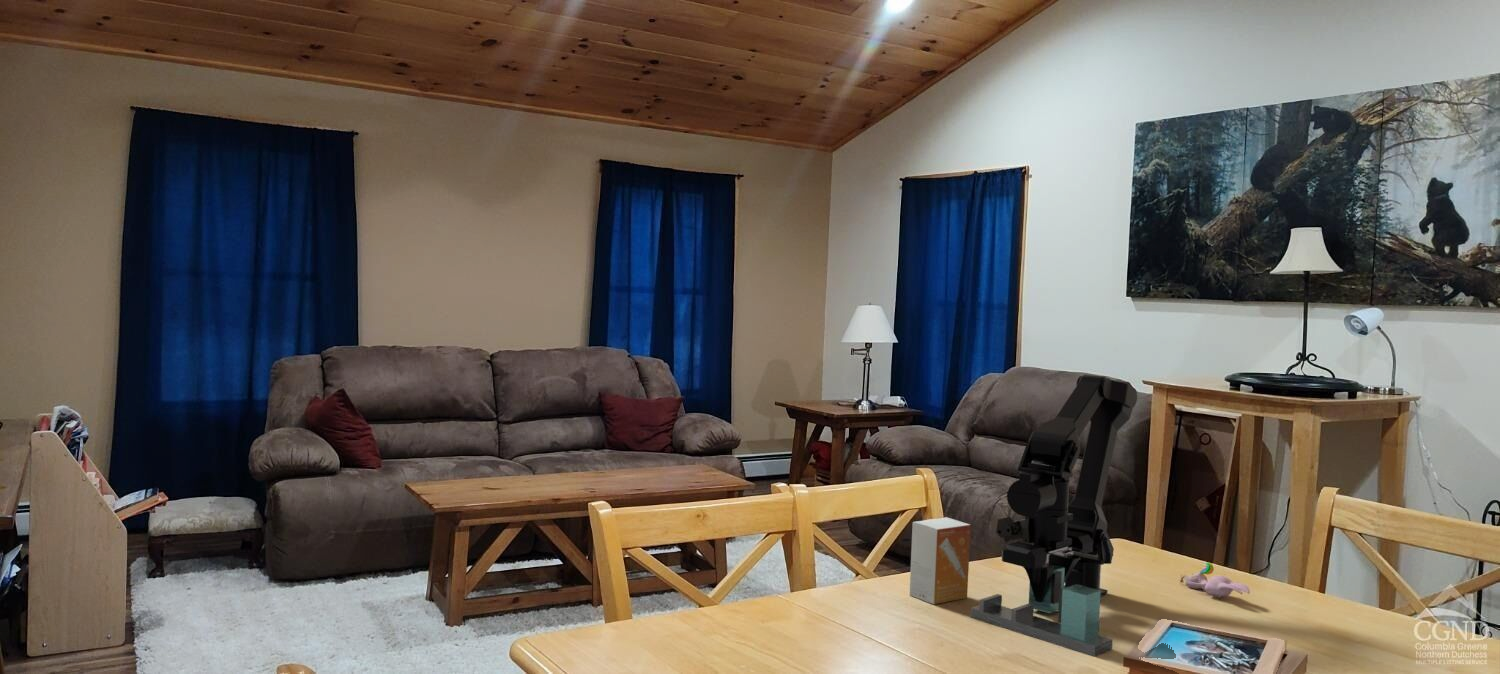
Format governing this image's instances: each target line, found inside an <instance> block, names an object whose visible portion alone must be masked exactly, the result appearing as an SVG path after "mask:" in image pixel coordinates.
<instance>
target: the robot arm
mask: <svg viewBox="0 0 1500 674" xmlns="http://www.w3.org/2000/svg"><path fill="white" fill-rule="evenodd" d="M1137 400H1138V391H1137V390H1136V388H1134V387H1133V386H1132V384H1131V382H1129V381H1123V380H1113V379H1111V378H1109V377H1106V376H1103V375H1092V374H1083V375H1079V377H1078V378H1077V381H1076V386H1075V388H1074V389H1073V390H1072V392H1071V393H1070V394H1069V397H1068V398H1067V400H1066V401H1064V403H1063V405H1062V406H1061V408H1060V409H1059V411H1058V413H1057V414H1056V415H1055V416H1054V418H1053V419H1050V420H1048V421H1045V422H1043V423H1041V424H1040V425H1039V426H1038V427H1036V429H1035V430H1034V431H1033V432H1032V433H1031V435H1030V436H1029V437H1028V440H1027V442H1026V444H1025V448H1024V450H1023V453H1022V456H1021V459H1020V462H1019V464H1018V467H1017V472H1019V478H1018V480H1015V481H1014V482H1013V483H1011V485H1010V486H1009V487H1008V490H1007V492H1006V500H1007V504H1008V505H1009V507H1010V509H1011V510H1012V511H1013V512H1014V513H1016V514H1017V515H1019V516H1022V517H1024V518H1022V519H1018V520H1014V519H1013V518H1012V517H1011V516H1007V517H1002V518H1001V517H1000V518H998V519H997V522H996V530H995V534H997V536H998V537H999V538H1000V539H1002V541H1003V543H1004V544H1005V543H1008V542H1010V541H1015V540H1020V539H1021V541H1022V542H1021V541H1017V542H1012V543H1008V544H1006V545H1005V546H1004V547H1003V548H1002V549H1001V561H1002V562H1003V563H1007V564H1010V565H1011V564H1012V565H1016V566H1018V567H1022V568H1023V569H1024V570H1025V572H1026V574H1027V575H1026V576H1028V580H1029V585H1030V584H1031V587H1032V591H1033V594H1034V598H1035V601H1037V602H1040V603H1041V602H1042V601H1043V599H1044V596H1045V594H1046V591H1047V588H1048V585H1049V582H1050V579H1051V576H1052V573H1053V570H1054V567H1055V565H1058V566H1062V567H1065V575H1064V588H1066V587H1070V586H1073V585H1076V584H1078V585H1082V586H1085V587H1089V588H1093V589H1097V590H1101V594H1100V597H1101V596H1103V595H1106V594H1108V593H1109V591H1108V590H1107V589H1105V588H1101V573H1102V571H1101V569H1102V566H1103V565H1107V564H1108V565H1110V564H1112V560H1113V557H1114V546H1113V542H1112V541H1111V538H1110V537H1109V535H1108V522H1107V520H1106V519H1107V518H1106V517H1105V513H1104V511H1103V509H1102V508H1103V507H1102V506H1103V500H1104V496H1105V493H1106V491H1105V490H1106V487H1107V482H1108V477H1109V474H1110V473H1109V472H1110V468H1111V463H1112V459H1113V454H1114V450H1115V444H1116V439H1117V435H1118V431H1119V430H1120V429H1121V428H1122V427H1123V426H1124V425H1125V424H1127V422H1128V421H1129V420H1130V418H1131V416H1132V412H1133V409H1134V408H1135V407H1136V404H1137V402H1138V401H1137ZM1089 422H1090V424H1089V429H1088V434H1087V439H1086V443H1085V446H1084V447H1085V448H1084V452H1083V457H1082V461H1081V466H1080V469H1079V475H1078V479H1077V484H1076V487H1075V492H1074V496H1073V499H1072V500H1071V501H1070V502H1069V499H1070V498H1069V495H1070V478H1072V477H1073V476H1074V473H1073V470H1074V467H1075V466H1076V463H1077V461H1078V458H1079V456H1080V454H1081V447H1080V442H1079V438H1080V436H1081V434H1082V433H1083V431H1084V430H1085V428H1086V427H1087V425H1088V423H1089ZM1032 462H1033V463H1032ZM1049 563H1050V564H1049ZM1053 564H1054V565H1053Z"/></svg>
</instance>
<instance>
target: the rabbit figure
mask: <svg viewBox="0 0 1500 674" xmlns="http://www.w3.org/2000/svg"><path fill="white" fill-rule="evenodd" d="M1205 565H1206V566H1205V568H1202V569H1201V570H1200V571H1199V572H1198V573H1191V575H1190V576H1188V575H1185V574H1184V575H1183V576H1182V574H1180V579H1179V583H1184V581H1185V585H1186V587H1187V588H1189V589H1194V590H1201V589H1202V590H1204V591H1205V592H1206V593H1207V594H1209V595H1211V596H1212V597H1213V598H1217V599H1218V598H1219V599H1220V598H1221V597H1227V596H1230V595H1231V594H1232V592H1233V591H1234V592H1237V593H1238V594H1240V595H1243V594H1244V593H1247V594H1248V595H1249V594H1251V591H1250V589H1249V588H1250V587H1249V586H1248V585H1246V584H1244V583H1242V582H1234V581H1232V579H1229V578H1228V577H1226V576H1225V575H1219V574H1217V575H1213V576H1212V577H1211V578H1209V579H1208V578H1207V575H1211V574H1213V572H1214V570H1215V569H1214V568H1215V567H1214V566H1213V564H1212V563H1210V562H1209V561H1208V562H1205ZM1243 592H1244V593H1243Z"/></svg>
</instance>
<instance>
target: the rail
mask: <svg viewBox="0 0 1500 674" xmlns="http://www.w3.org/2000/svg"><path fill="white" fill-rule="evenodd" d="M1100 594H1101V590H1097V589H1093V588H1089V587H1085V586H1082V585H1078V584H1076V585H1073V586H1070V587H1066V588H1063V589H1060V590H1059V607H1058V611H1057V613H1058V614H1057V622H1056V621H1053V620H1050V619H1047V618H1043V617H1040V616H1036V615H1034V610H1035V609H1034V604H1031V603H1029V602H1028V603H1026V604H1023V605H1022V604H1021V605H1020V606H1018V607H1017V606H1016V607H1014V608H1010V607H1007V606H1003V602H1002V601H1003V595H1002V594H999V593H997V594H993V595H991V596H987V597H984V598H980V599H979V604H978V605H976V606H972V607H971V608H970V617H971V618H972V619H975V620H978V621H982V622H985V623H988V624H991V625H994V626H998V627H1001V628H1003V629H1007V630H1010V631H1013V632H1017V633H1019V634H1021V635H1025V636H1029V637H1032V638H1036V639H1039V640H1042V641H1044V642H1047V643H1051V644H1054V645H1058V646H1061V647H1064V648H1067V649H1070V650H1073V651H1076V652H1080V653H1083V654H1087V655H1089V656H1092V657H1096V656H1099V655H1101V654H1103V653H1104V654H1105V653H1106V652H1108V651H1111V650H1113V638H1110V637H1106V636H1104V635H1103V636H1102V635H1099V633H1100V612H1101V610H1100V609H1101V596H1100Z"/></svg>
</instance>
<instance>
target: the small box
mask: <svg viewBox="0 0 1500 674" xmlns="http://www.w3.org/2000/svg"><path fill="white" fill-rule="evenodd" d="M911 530H912V533H911V550H910V551H911V553H910V575H909V576H910V577H909V596H911V597H914V598H916V599H918V600H921V601H924V602H927V603H930V604H932V605H936V604H941V603H946V602H953V601H959V600H965V599H968V587H969V586H968V584H969V583H968V582H969V569H970V568H969V565H970V564H969V563H970V549H971V548H970V546H971V545H970V544H971V524H970V523H967V522H962V521H961V520H957V519H953V518H950V517H947V516H945V517H941V518H931V519H924V520H918V521H913V522H912V529H911Z"/></svg>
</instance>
